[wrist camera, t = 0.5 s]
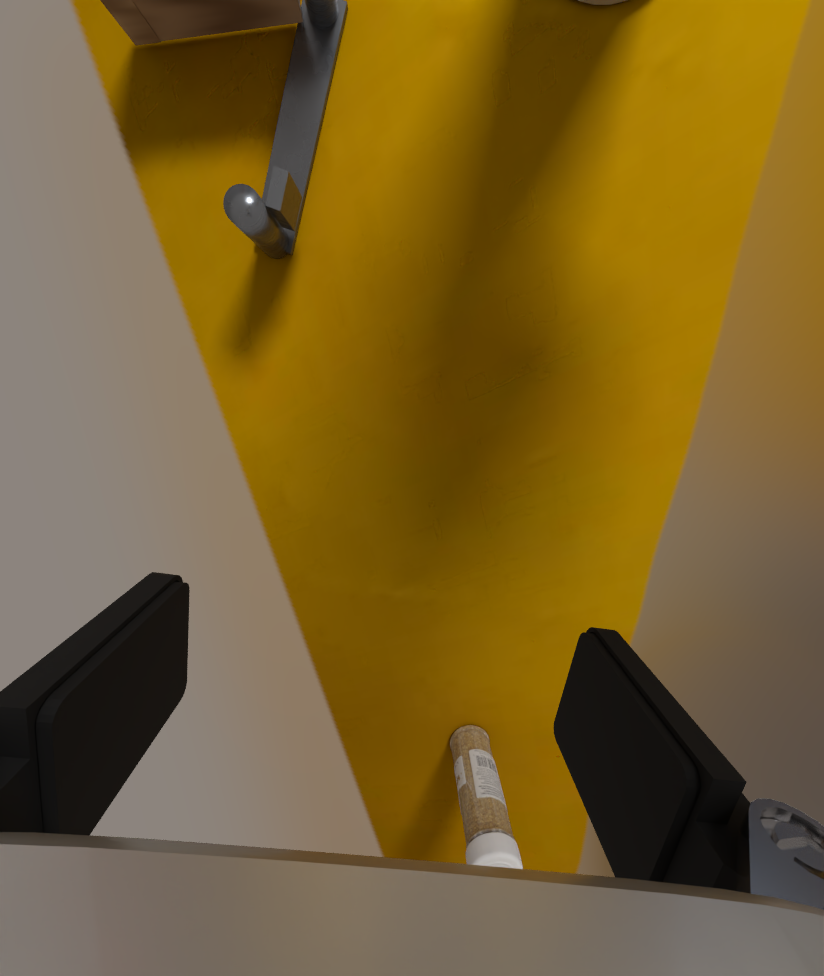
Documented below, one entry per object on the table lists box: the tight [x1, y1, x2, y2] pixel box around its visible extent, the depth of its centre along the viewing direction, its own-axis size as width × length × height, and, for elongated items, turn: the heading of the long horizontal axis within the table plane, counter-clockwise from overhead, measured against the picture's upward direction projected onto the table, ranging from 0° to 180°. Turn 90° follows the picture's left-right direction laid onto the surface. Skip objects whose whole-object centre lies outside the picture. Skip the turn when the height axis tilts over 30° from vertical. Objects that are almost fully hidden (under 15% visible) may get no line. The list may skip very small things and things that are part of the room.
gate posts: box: [224, 0, 348, 259], centre depth 29 cm, size 18×4×8 cm, turn 162°
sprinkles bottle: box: [450, 725, 523, 869], centre depth 41 cm, size 5×4×14 cm
